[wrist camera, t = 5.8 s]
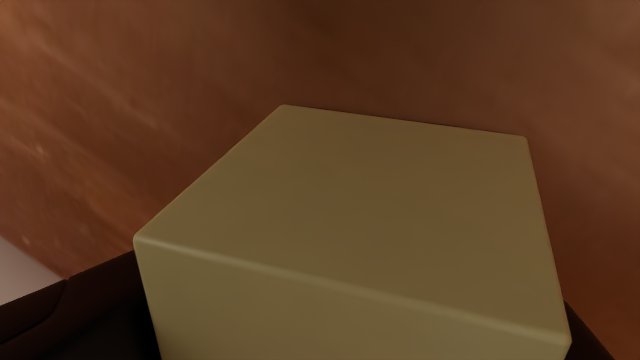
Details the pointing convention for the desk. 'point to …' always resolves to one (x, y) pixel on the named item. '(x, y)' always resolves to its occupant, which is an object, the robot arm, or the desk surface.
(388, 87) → the desk surface
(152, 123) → the desk surface
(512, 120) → the desk surface
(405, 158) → the block
